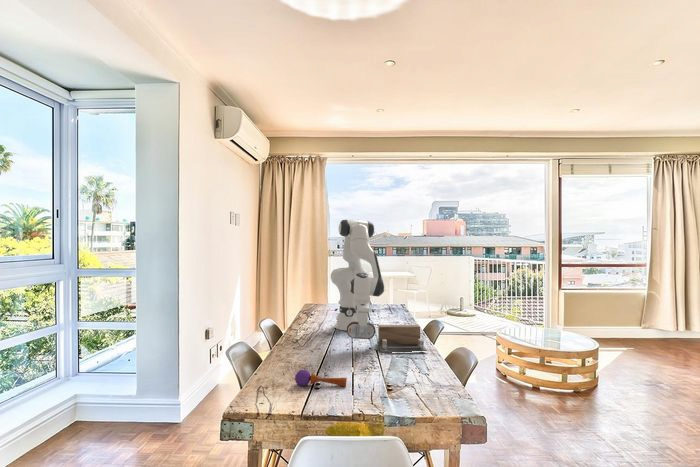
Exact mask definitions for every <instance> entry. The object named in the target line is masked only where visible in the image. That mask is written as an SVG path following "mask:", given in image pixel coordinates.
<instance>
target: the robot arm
mask: <svg viewBox="0 0 700 467" xmlns="http://www.w3.org/2000/svg"><path fill="white" fill-rule="evenodd" d="M338 233H339V235H340V236H341V237H344V240H343V247H342V249H343V250H342V259H343V260H344V261H345V262H346V263H347V264H348V267H338V268H335V269H333V270H332V271H331V272H330V280H331V282H332V283H333V285H335V286H336V288H337V289H338V292H339V299H340V300H339V303H340V305H339V308H338V309H339V313H338V314H337V316H336V323H335V324H334V325H333V329H335V328H336V329H337V330H340V331H346V332H347V326H348V325H349V324H350V323H351V322H358V324H359V327H360V333H363V328H364V327H366V326H367V322H369V321H368V319H369V312H370V310H371V297H380V296H382V295H383V294H384V292H385V283H384V280H383V277H382V273H381V269H380V264H379V260H378V256H377V252H376V251H375V250H373V249H372V247H371V245H370V239H371V238H372V237H373V236H374V234H375V225H374V223H373V222H372V221H368V220H367V221H366V220H361V219H342V220H340V222H339V224H338ZM361 260H363V261H366V262H367V263H368V264H369V265H370V267H371V271H372V275H373V277H370V276H371V275H370V274H368V273H367V270H366V269H365V268H364V267H363V266H362V262H361ZM336 329H335V330H336Z"/></svg>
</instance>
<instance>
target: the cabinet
mask: <svg viewBox="0 0 700 467" xmlns="http://www.w3.org/2000/svg"><path fill="white" fill-rule="evenodd" d="M377 332H378V334H377V336H378V337H377V341H376V342H377V344H378V345H377V346H379V347H378V348H380V349H379V351H380V350H381V351H380V352H382V353H392V352H412V351H427V352H428V350H427V348H425V347H424V339H423V338H422V339H421V326H420V325H419V324H378V331H377ZM382 353H381V354H382Z"/></svg>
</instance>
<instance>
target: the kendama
mask: <svg viewBox="0 0 700 467" xmlns="http://www.w3.org/2000/svg"><path fill="white" fill-rule="evenodd" d="M294 379H295V380H294V381H295V382H296V384H297V386H301V387H305V386H308V384H310V385H314V384H315V383H318V382H322V383H327V384H332V385H336V386H341V387H344V386H346V387H347V379H348V378H347V377H319V376H318V375H316V374H315V373H313V372H311V373H310V372H309V371H308V370H306V369H300V370H298V371H297V372H296V374H295V377H294Z"/></svg>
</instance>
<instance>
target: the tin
mask: <svg viewBox="0 0 700 467" xmlns="http://www.w3.org/2000/svg"><path fill="white" fill-rule="evenodd" d="M346 333H347V335H348V337H349V338H351V339H353V340H354V339H355V340H370V339H373V338H374V336H375V335H376V327H375V325H374V324H373V323H371V322H369V321H367V326H366V327H364V328H363V333H360V327H359V324H358V322H351V323H350V324H349V325H348V326H347V331H346Z"/></svg>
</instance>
